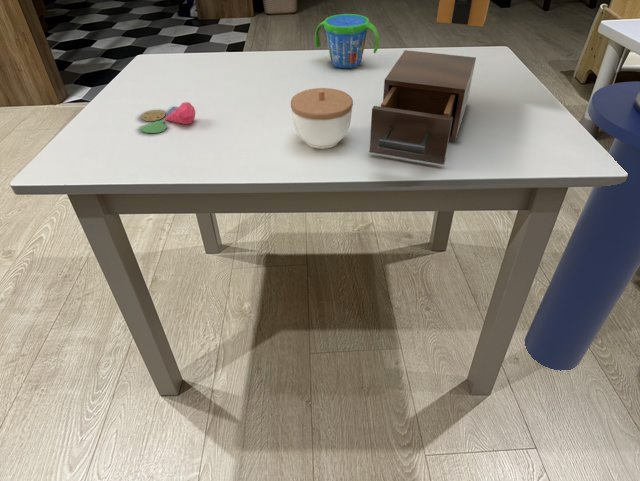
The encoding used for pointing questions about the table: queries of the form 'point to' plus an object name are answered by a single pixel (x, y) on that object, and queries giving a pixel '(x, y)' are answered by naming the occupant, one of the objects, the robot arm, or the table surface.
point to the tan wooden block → (475, 17)
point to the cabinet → (435, 78)
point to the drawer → (413, 124)
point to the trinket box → (322, 116)
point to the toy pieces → (168, 117)
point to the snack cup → (346, 38)
